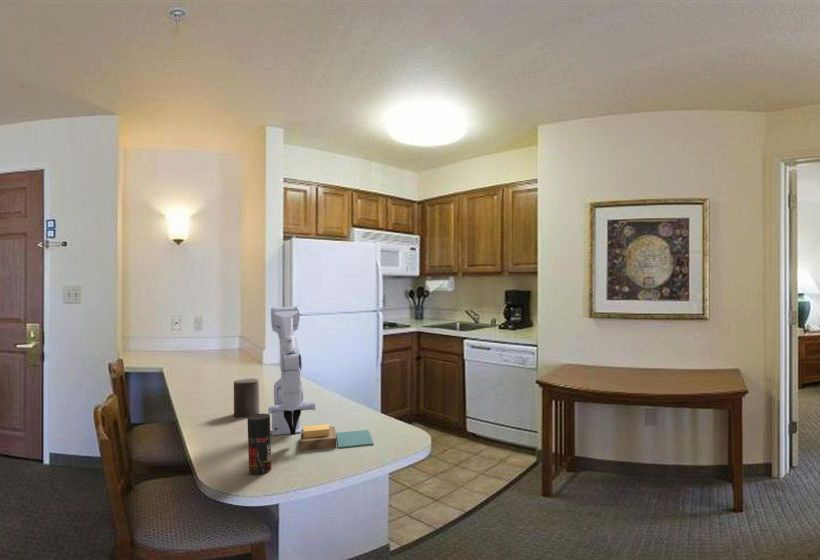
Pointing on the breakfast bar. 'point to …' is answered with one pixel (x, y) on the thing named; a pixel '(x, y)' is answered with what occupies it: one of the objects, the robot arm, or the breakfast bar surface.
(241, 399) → the pillar candle
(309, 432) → the tile
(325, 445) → the brown flat block
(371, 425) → the breakfast bar surface
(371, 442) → the mat
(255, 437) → the deodorant
